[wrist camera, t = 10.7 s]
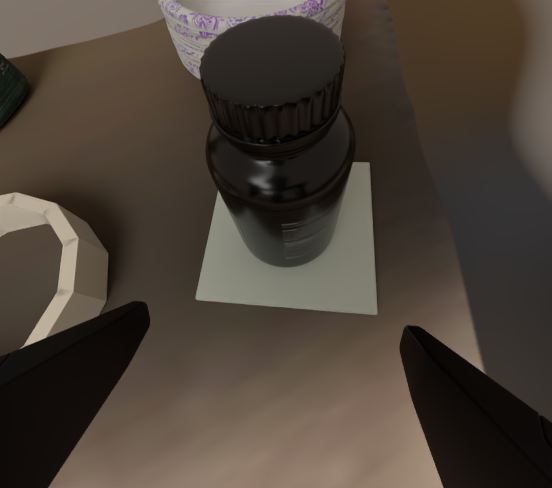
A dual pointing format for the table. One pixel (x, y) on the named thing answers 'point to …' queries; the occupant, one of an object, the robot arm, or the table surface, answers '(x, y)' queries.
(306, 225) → the supplement bottle
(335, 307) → the mat
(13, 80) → the coffee jar
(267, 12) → the paper bowls
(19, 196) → the ring holder
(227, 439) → the table surface
